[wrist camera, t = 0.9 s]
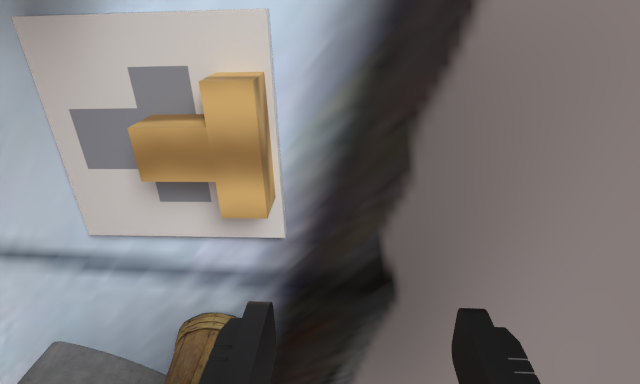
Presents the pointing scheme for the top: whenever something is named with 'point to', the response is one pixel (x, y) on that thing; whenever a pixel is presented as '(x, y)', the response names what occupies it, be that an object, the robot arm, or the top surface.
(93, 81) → the t board
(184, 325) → the wooden mug
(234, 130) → the t block
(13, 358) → the top surface
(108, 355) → the hip flask
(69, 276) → the top surface
